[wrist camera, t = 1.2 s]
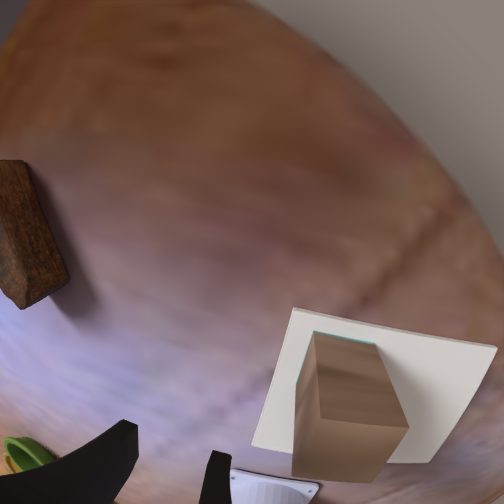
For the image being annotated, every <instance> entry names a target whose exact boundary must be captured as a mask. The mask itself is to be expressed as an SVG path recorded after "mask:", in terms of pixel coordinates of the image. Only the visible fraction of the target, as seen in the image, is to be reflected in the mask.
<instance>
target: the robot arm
mask: <svg viewBox="0 0 504 504" xmlns="http://www.w3.org/2000/svg"><path fill="white" fill-rule="evenodd" d="M138 457H139V450H138V425H137V424H134V423H132V422H129V421H127V420H124V419H123V420H120V421H119V422H118V423H116V424H115V425H114V426H112V427H111V428H110V429H108V430H107V431H105V432H104V433H102V434H101V435H99V436H98V437H96V438H95V439H93V440H92V441H90V442H88V443H87V444H85V445H84V446H82V447H80V448H79V449H77V450H75V451H73V452H71V453H69V454H67V455H65V456H63V457H61V458H59V459H57V460H55V461H52V462H50V463H47V464H45V465H42V466H39V467H36V468H33V469H30V470H26V471H22V472H18V473H13V474H8V475H2V476H0V504H112V502H113V501H114V499H115V498H116V496H117V495H118V493H119V492H120V490H121V488H122V487H123V485H124V484H125V482H126V481H127V479H128V478H129V476H130V474H131V472H132V470H133V468H134V465H135V463H136V461H137V459H138ZM231 459H232V456H231V455H230V454H226V453H222V452H219V451H215V450H213V451H212V454H211V456H210V459H209V461H208V464H207V468H206V472H205V477H204V482H203V486H202V491H201V495H200V500H199V504H308V503H309V502H310V500H311V499H312V498H313V496H314V495H315V493H316V492H317V490H318V489H319V485H318V484H317V483H310V482H302V481H295V480H288V479H282V478H276V477H270V476H265V475H259V474H254V473H250V472H245V471H241V470H236V469H232V470H230V466H231Z"/></svg>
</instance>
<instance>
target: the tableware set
mask: <svg viewBox="0 0 504 504" xmlns="http://www.w3.org/2000/svg"><path fill="white" fill-rule="evenodd" d="M3 443H4V447H5V449H6V451H7V452H5V453H3V459H4V461H5V463H6V465H7V467H8V468H9V470H10V471H11V472H12V474H13V473H18V472H22V471H26V470H30V469H33V468H36V467H39V466H42V465H45V464H47V463H50V462H52V461H55V459H54V458H53V456H52V455H51V454H50V453H49V452H48V451H47V450H46V449H45V448H44V447H42V446H41V445H40V444H39V443H37V442H36V441H34V440H33V439H31V438H28V437H22V438H13V437H6V438H5V439H4V440H3Z"/></svg>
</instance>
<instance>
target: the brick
mask: <svg viewBox="0 0 504 504" xmlns="http://www.w3.org/2000/svg"><path fill="white" fill-rule="evenodd" d="M66 283H68V275H67V272H66V269H65V267H64V264H63V261H62V258H61V255H60V252H59V250H58V248H57V246H56V243H55V241H54V239H53V236H52V234H51V231H50V229H49V226H48V224H47V222H46V219H45V217H44V215H43V211H42V209H41V207H40V204H39V201H38V198H37V195H36V192H35V190H34V186H33V184H32V181H31V178H30V175H29V172H28V169H27V167H26V164H25V163H24V161H23V160H0V288H1V290H2V291H3V293H4V294H5V295H6V297H8V298H9V299H11V300H12V301H13V302H14V303H15V304H16V306H17V307H18V308H19V309H20V310H24V309H26V308H27V307H30V306H32V305H33V304H35V303H37V302H38V301H40V300H42V299H43V298H45V297H47V296H48V295H50V294H51V293H53V292H54V291H56V290H58V289H59V288H60V287H62V286H64V285H65V284H66Z"/></svg>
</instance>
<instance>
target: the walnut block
mask: <svg viewBox="0 0 504 504" xmlns="http://www.w3.org/2000/svg"><path fill="white" fill-rule="evenodd" d="M409 428H410V427H409V425H408V422H407V419H406V417H405V414H404V412H403V409H402V407H401V404H400V402H399V399H398V397H397V394H396V392H395V390H394V387H393V385H392V382H391V380H390V378H389V375H388V373H387V371H386V368H385V366H384V364H383V362H382V359H381V357H380V355H379V352H378V350H377V348H376V346H375V343H374V342H368V341H363V340H358V339H353V338H348V337H342V336H338V335H333V334H328V333H323V332H318V331H314V330H313V333H312V336H311V339H310V342H309V345H308V348H307V351H306V354H305V357H304V360H303V363H302V366H301V369H300V372H299V375H298V378H297V381H296V390H295V418H294V440H293V459H292V475H291V476H293V477H300V478H308V479H316V480H326V481H337V482H352V483H371V482H372V481H373V480H374V478H375V477H376V476H377V474H378V473H379V472H380V470H381V469H382V468H383V466H384V465H385V464H386V462H387V461H388V459H389V458H390V457H391V455H392V454H393V452H394V451H395V449H396V448H397V447H398V445H399V444H400V442H401V441H402V439H403V437H404V436H405V434H406V433H407V431H408V430H409Z"/></svg>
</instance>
